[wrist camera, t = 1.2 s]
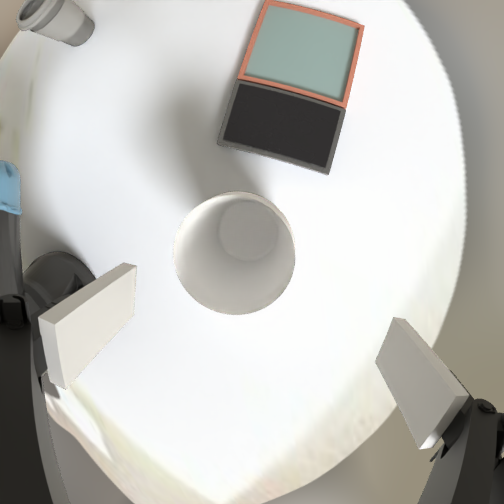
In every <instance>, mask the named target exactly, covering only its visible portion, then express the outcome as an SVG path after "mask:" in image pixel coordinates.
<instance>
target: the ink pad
mask: <svg viewBox="0 0 504 504" xmlns="http://www.w3.org/2000/svg"><path fill="white" fill-rule="evenodd" d="M345 112H346V110H345V109H343V108H340V107H337V106H334V105H331V104H328V103H325V102H322V101H319V100H315V99H312V98H309V97H305V96H302V95H298V94H295V93H291V92H288V91H284V90H280V89H276V88H272V87H268V86H264V85H259V84H255V83H250V82H246V81H241V80H236V82H235V85H234V88H233V92H232V95H231V98H230V101H229V104H228V108H227V111H226V114H225V117H224V121H223V124H222V127H221V131H220V134H219V138H218V141H217V144H218V145H221V146H225V147H229V148H233V149H237V150H241V151H245V152H249V153H253V154H257V155H261V156H264V157H268V158H272V159H275V160H279V161H282V162H286V163H289V164H293V165H296V166H299V167H302V168H306V169H309V170H312V171H315V172H318V173H322V174H325V175H329V172H330V168H331V165H332V161H333V158H334V154H335V150H336V147H337V143H338V139H339V135H340V132H341V128H342V124H343V120H344V116H345Z"/></svg>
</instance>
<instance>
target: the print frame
mask: <svg viewBox="0 0 504 504" xmlns="http://www.w3.org/2000/svg"><path fill="white" fill-rule="evenodd" d="M363 31H364V25H361V24H358V23H355V22H353V21H350V20H347V19H344V18H341V17H338V16H334V15H331V14H328V13H324V12H321V11H317V10H313V9H310V8H306V7H302V6H297V5H293V4H288V3H284V2H279V1H273V0H265V2H264V5H263V8H262V10H261V13H260V15H259V18H258V21H257V23H256V26H255V29H254V31H253V34H252V37H251V40H250V43H249V45H248V48H247V51H246V54H245V57H244V60H243V63H242V66H241V69H240V72H239V75H238V78H237V79H238V80H241V81H246V82H250V83H255V84H259V85H264V86H268V87H272V88H276V89H280V90H284V91H288V92H291V93H295V94H298V95H302V96H305V97H309V98H312V99H315V100H319V101H322V102H325V103H328V104H331V105H334V106H337V107H340V108H343V109H346V107H347V103H348V99H349V95H350V90H351V86H352V82H353V78H354V73H355V69H356V64H357V60H358V55H359V51H360V46H361V41H362V36H363Z"/></svg>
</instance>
